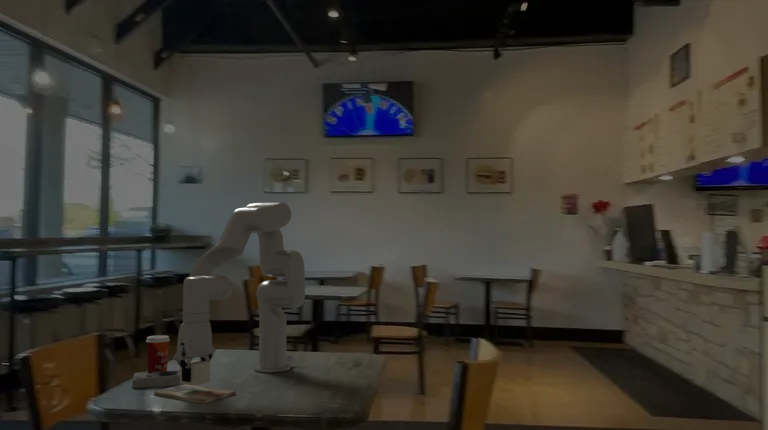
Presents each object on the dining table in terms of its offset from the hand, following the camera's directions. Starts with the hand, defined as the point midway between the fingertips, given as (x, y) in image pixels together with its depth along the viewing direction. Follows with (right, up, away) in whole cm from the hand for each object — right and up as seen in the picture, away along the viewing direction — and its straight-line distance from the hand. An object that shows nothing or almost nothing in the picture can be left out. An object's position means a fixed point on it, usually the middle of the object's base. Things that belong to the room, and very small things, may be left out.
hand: (194, 378), depth 189 cm
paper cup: (-19, -6, +21) cm, 29 cm away
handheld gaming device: (-16, -6, +14) cm, 22 cm away
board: (0, -5, 0) cm, 5 cm away
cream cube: (0, -1, 0) cm, 1 cm away
